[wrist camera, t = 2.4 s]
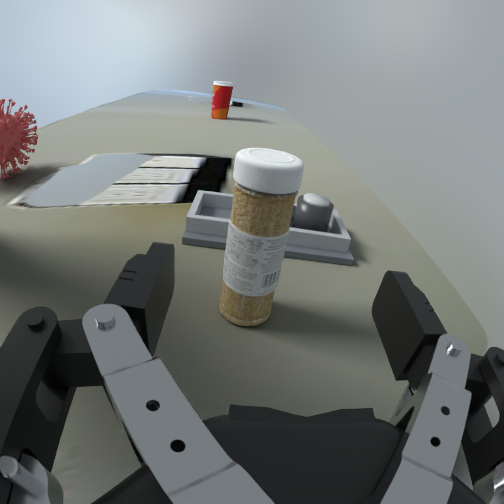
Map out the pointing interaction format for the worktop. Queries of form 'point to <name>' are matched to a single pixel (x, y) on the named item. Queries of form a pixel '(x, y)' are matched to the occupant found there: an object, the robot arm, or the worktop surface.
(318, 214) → the grey flat tray
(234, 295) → the sprinkles bottle
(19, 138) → the virus model
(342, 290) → the worktop surface
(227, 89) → the paper cup
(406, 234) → the worktop surface
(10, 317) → the worktop surface
